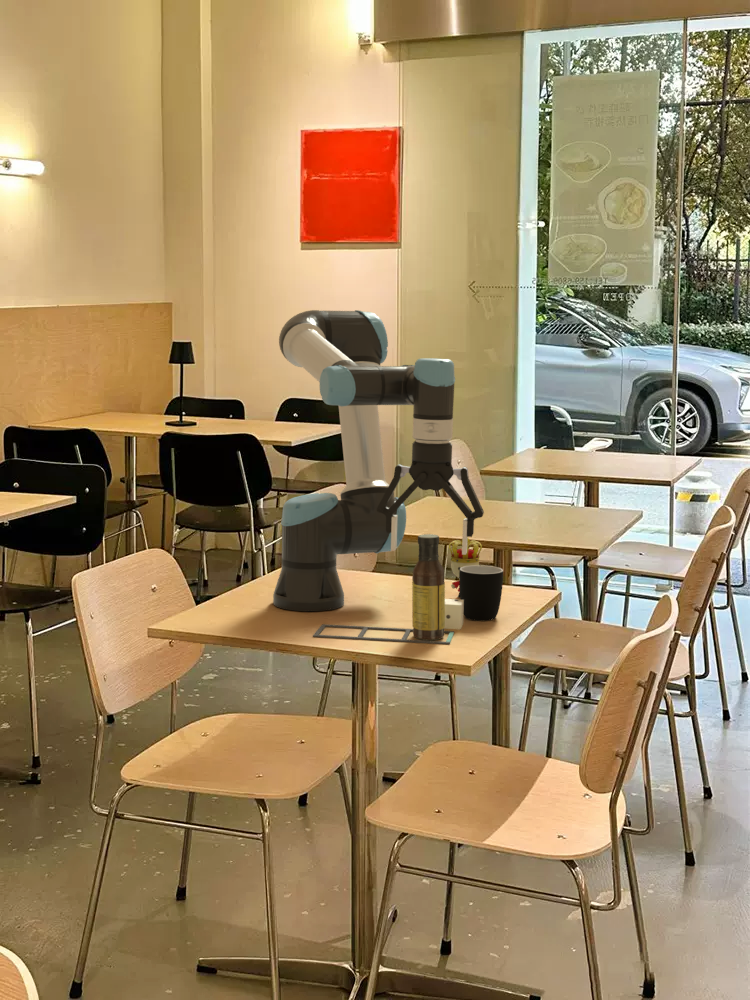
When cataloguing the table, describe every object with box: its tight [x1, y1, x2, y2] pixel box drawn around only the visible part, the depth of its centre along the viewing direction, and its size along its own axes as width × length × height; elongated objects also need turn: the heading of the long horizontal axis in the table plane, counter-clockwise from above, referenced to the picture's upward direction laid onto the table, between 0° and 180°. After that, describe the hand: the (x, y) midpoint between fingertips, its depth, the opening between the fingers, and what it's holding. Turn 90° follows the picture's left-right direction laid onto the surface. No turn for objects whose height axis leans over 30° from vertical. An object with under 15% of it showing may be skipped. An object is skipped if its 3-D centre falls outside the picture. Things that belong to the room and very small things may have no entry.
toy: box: [448, 537, 483, 598], centre depth 279 cm, size 7×7×15 cm
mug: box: [458, 564, 504, 622], centre depth 261 cm, size 12×9×10 cm
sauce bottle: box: [411, 533, 446, 641], centre depth 242 cm, size 6×6×20 cm
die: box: [444, 598, 464, 630], centre depth 253 cm, size 5×5×5 cm
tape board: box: [312, 623, 455, 645], centre depth 245 cm, size 9×26×1 cm, turn 81°
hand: (428, 551), depth 242 cm, fingers open, 13 cm apart
